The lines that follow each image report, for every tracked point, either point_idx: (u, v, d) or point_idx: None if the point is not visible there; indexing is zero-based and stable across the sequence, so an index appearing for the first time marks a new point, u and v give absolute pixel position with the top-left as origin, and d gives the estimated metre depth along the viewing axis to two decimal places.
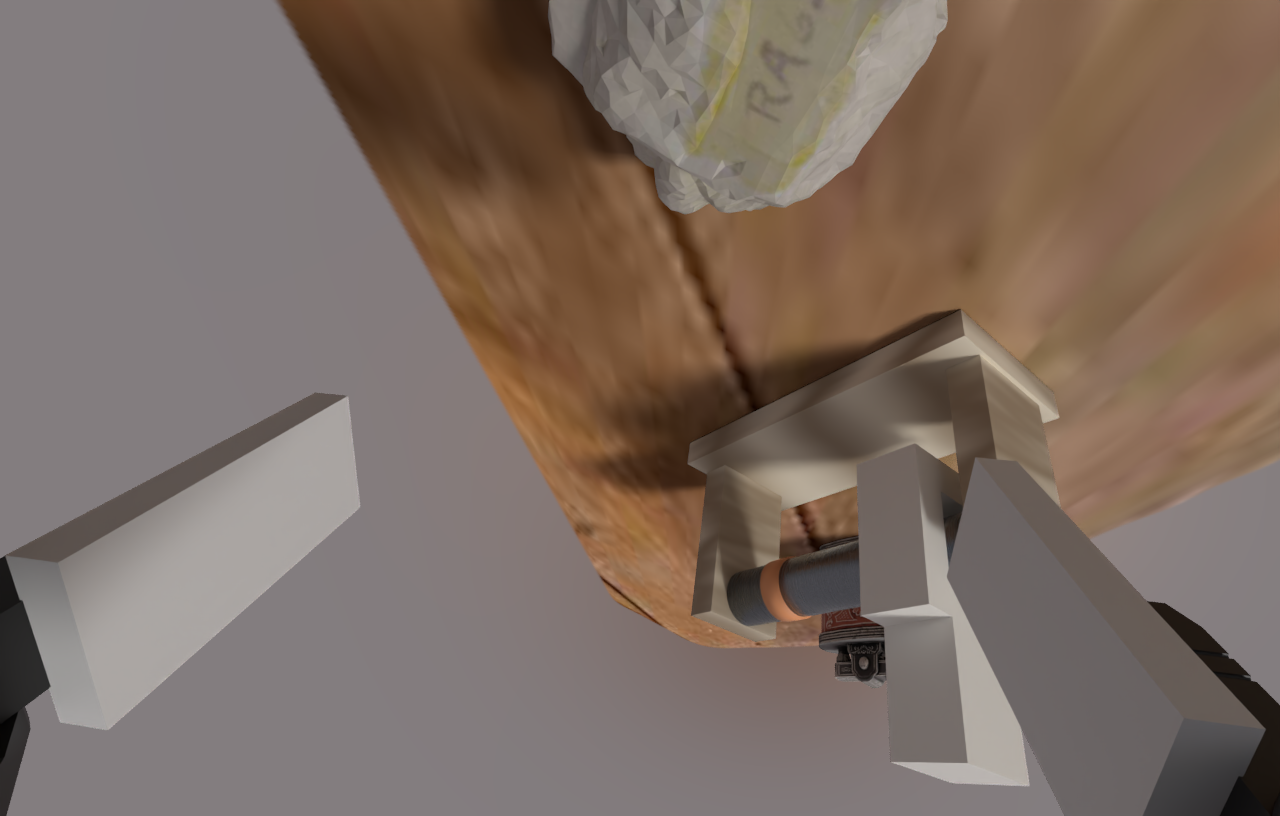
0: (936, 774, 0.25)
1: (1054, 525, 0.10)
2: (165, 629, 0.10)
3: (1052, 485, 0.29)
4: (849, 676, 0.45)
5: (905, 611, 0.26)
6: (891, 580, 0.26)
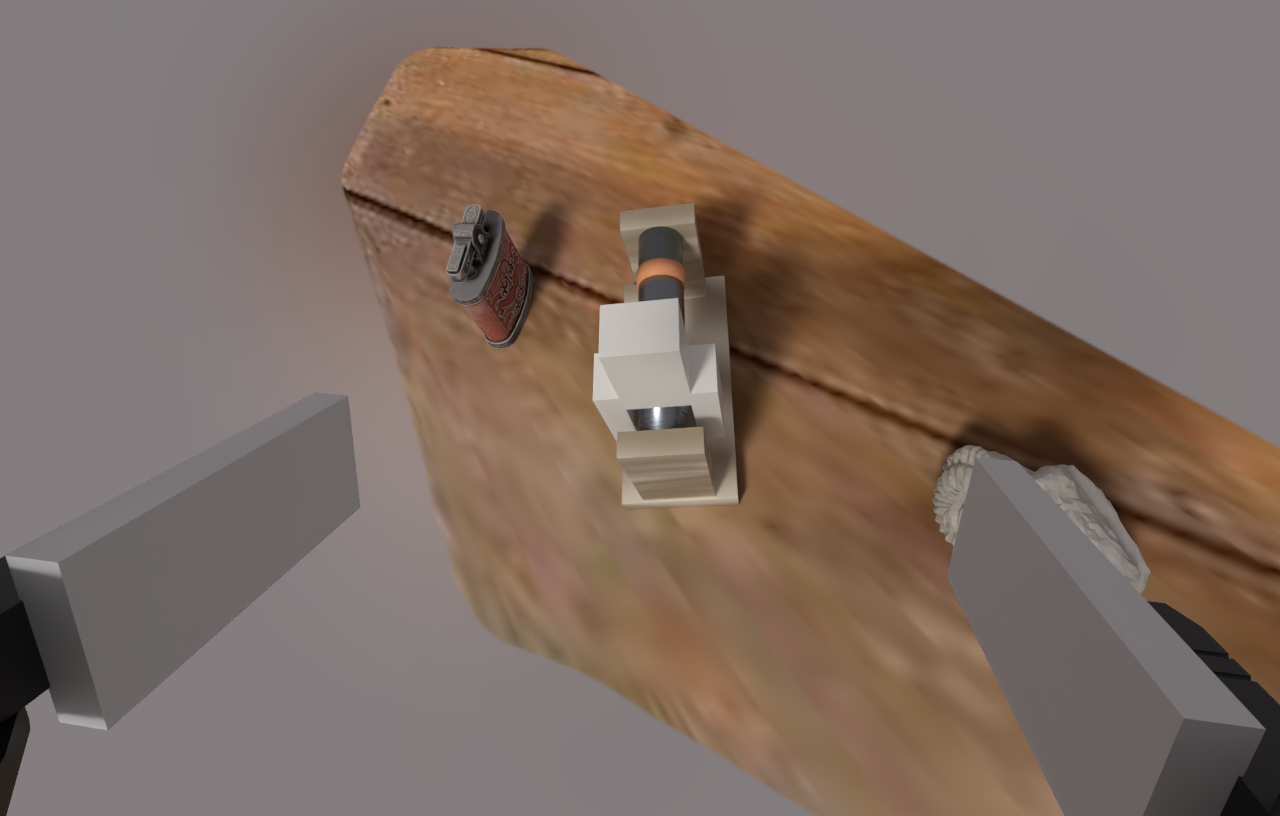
0: (634, 309, 0.33)
1: (1054, 525, 0.10)
2: (165, 629, 0.10)
3: (637, 481, 0.42)
4: (477, 218, 0.48)
5: (710, 372, 0.37)
6: (717, 376, 0.38)
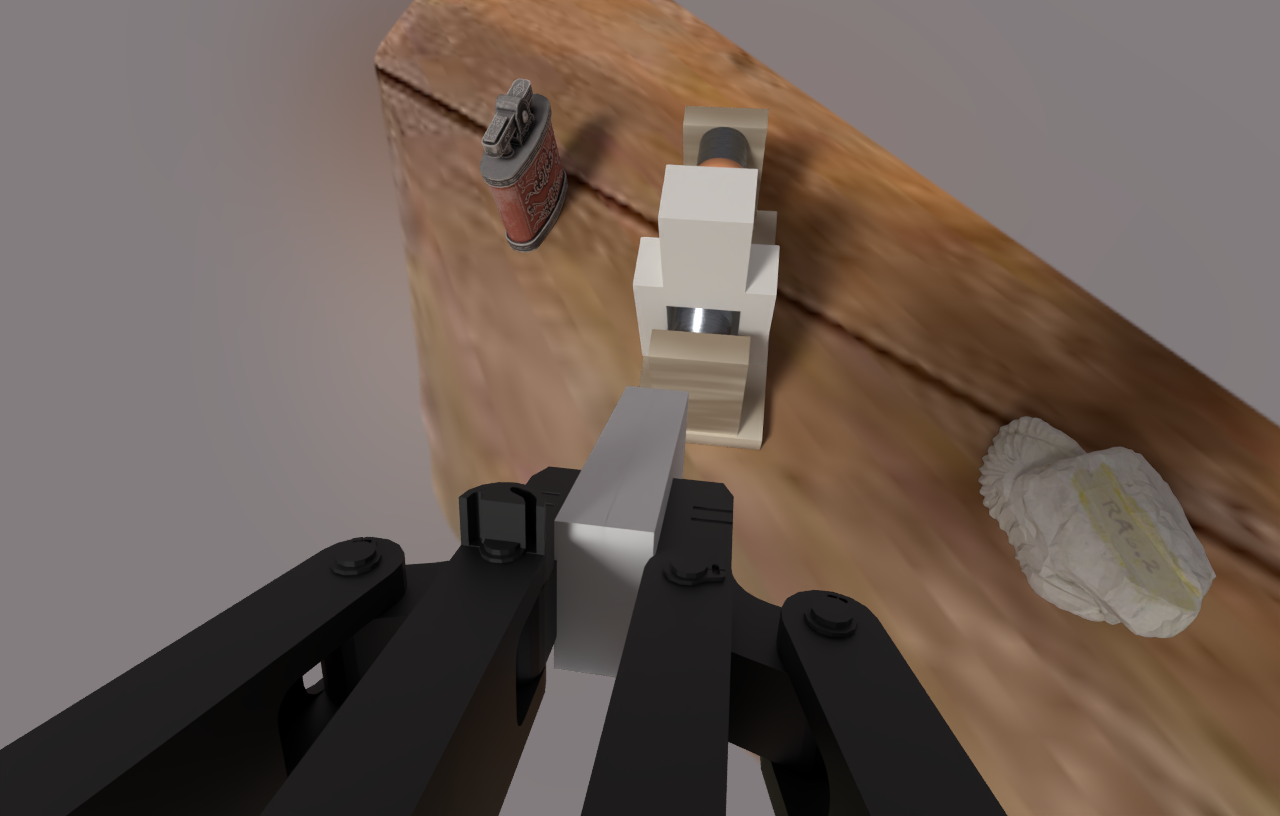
0: (706, 174, 0.29)
1: (661, 429, 0.13)
2: None
3: None
4: (524, 93, 0.44)
5: (771, 275, 0.33)
6: None
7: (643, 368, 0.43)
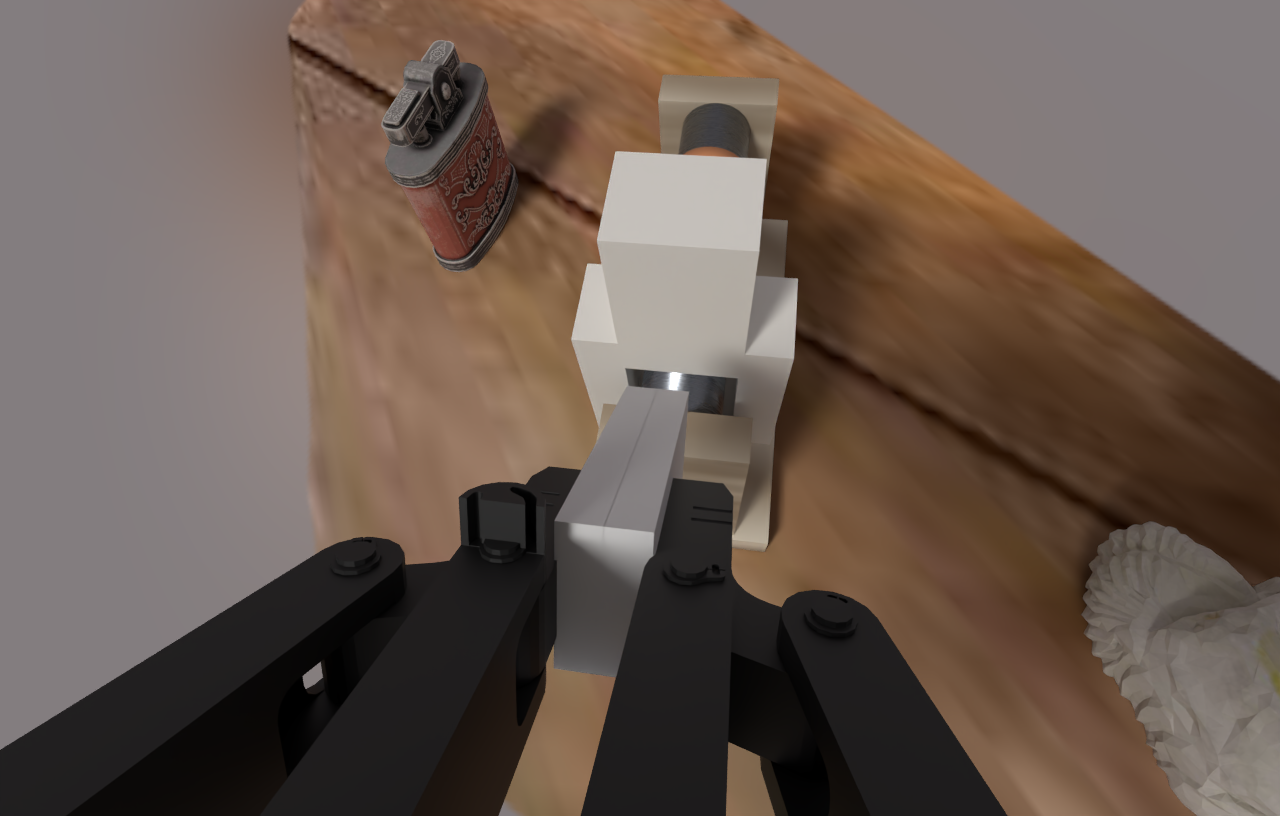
0: (680, 167, 0.17)
1: (662, 429, 0.13)
2: None
3: None
4: (445, 59, 0.32)
5: (785, 325, 0.21)
6: None
7: None
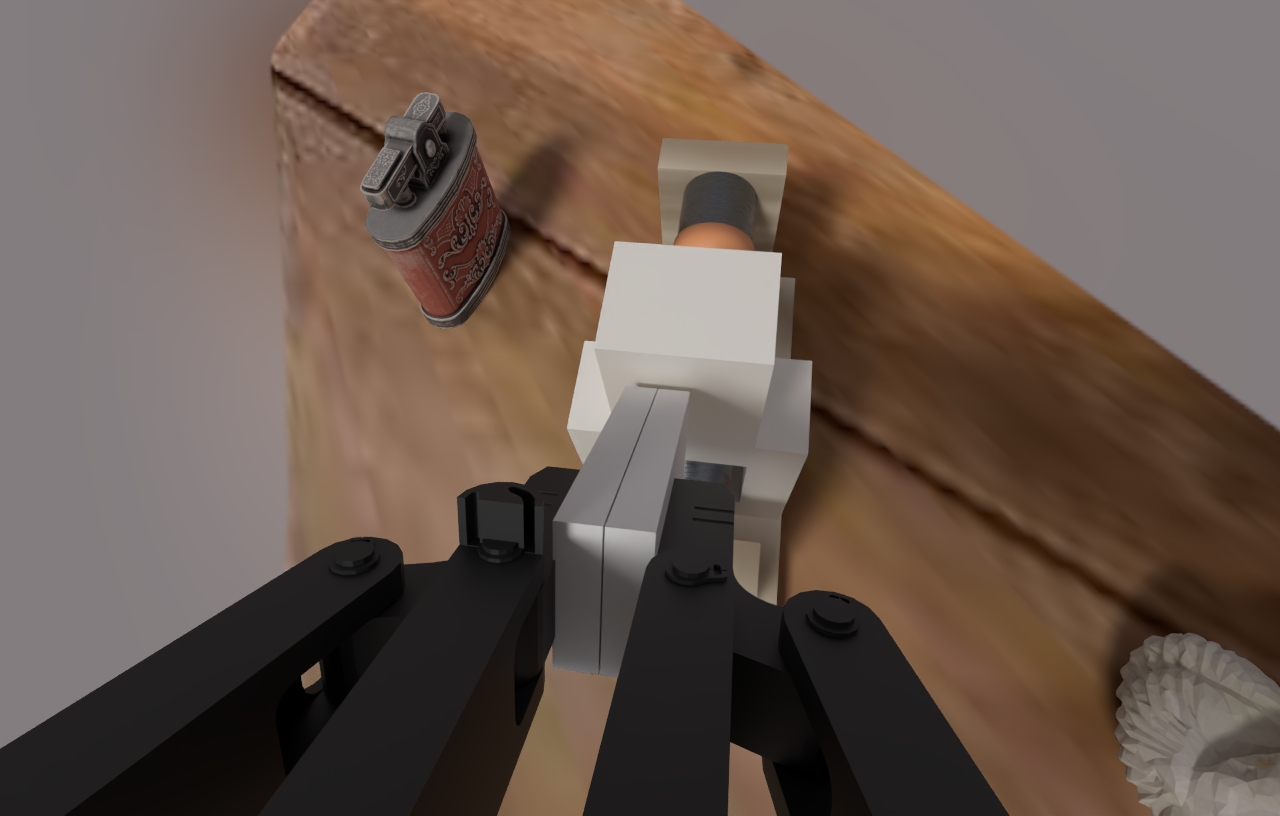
0: (686, 261, 0.16)
1: (662, 429, 0.13)
2: None
3: None
4: (429, 114, 0.30)
5: (798, 414, 0.19)
6: None
7: None
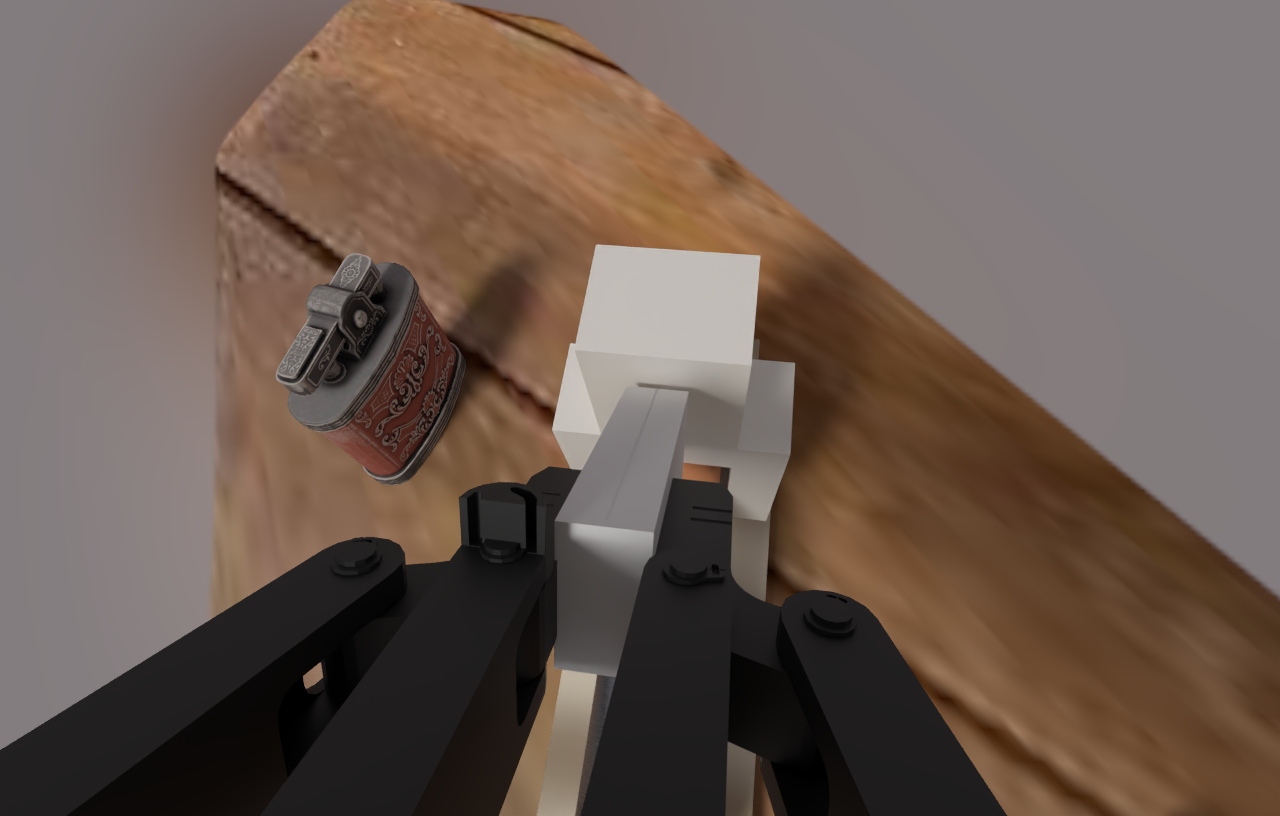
0: (666, 264, 0.16)
1: (661, 429, 0.13)
2: None
3: None
4: (359, 281, 0.26)
5: (781, 416, 0.20)
6: None
7: (553, 737, 0.26)
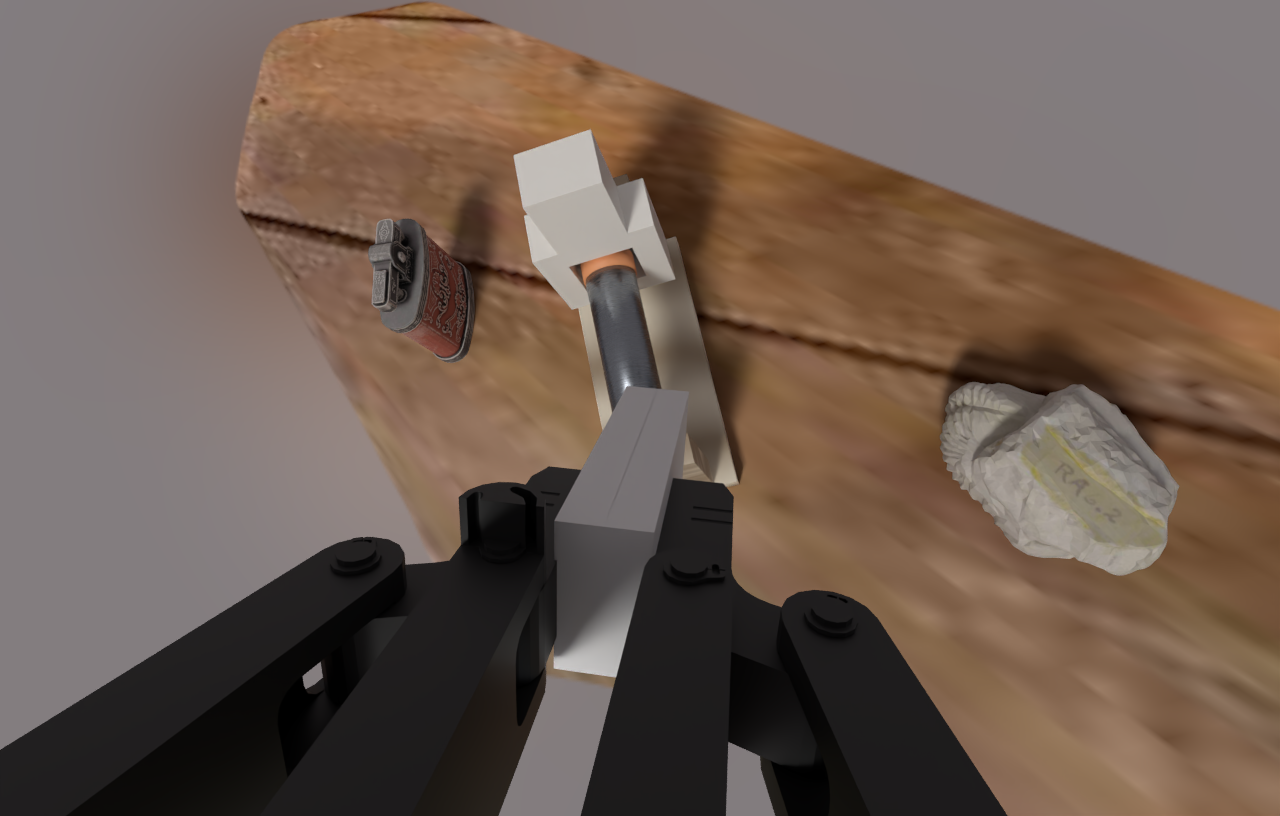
0: (549, 151, 0.32)
1: (661, 429, 0.13)
2: None
3: None
4: (391, 235, 0.43)
5: (643, 208, 0.36)
6: (652, 212, 0.37)
7: None
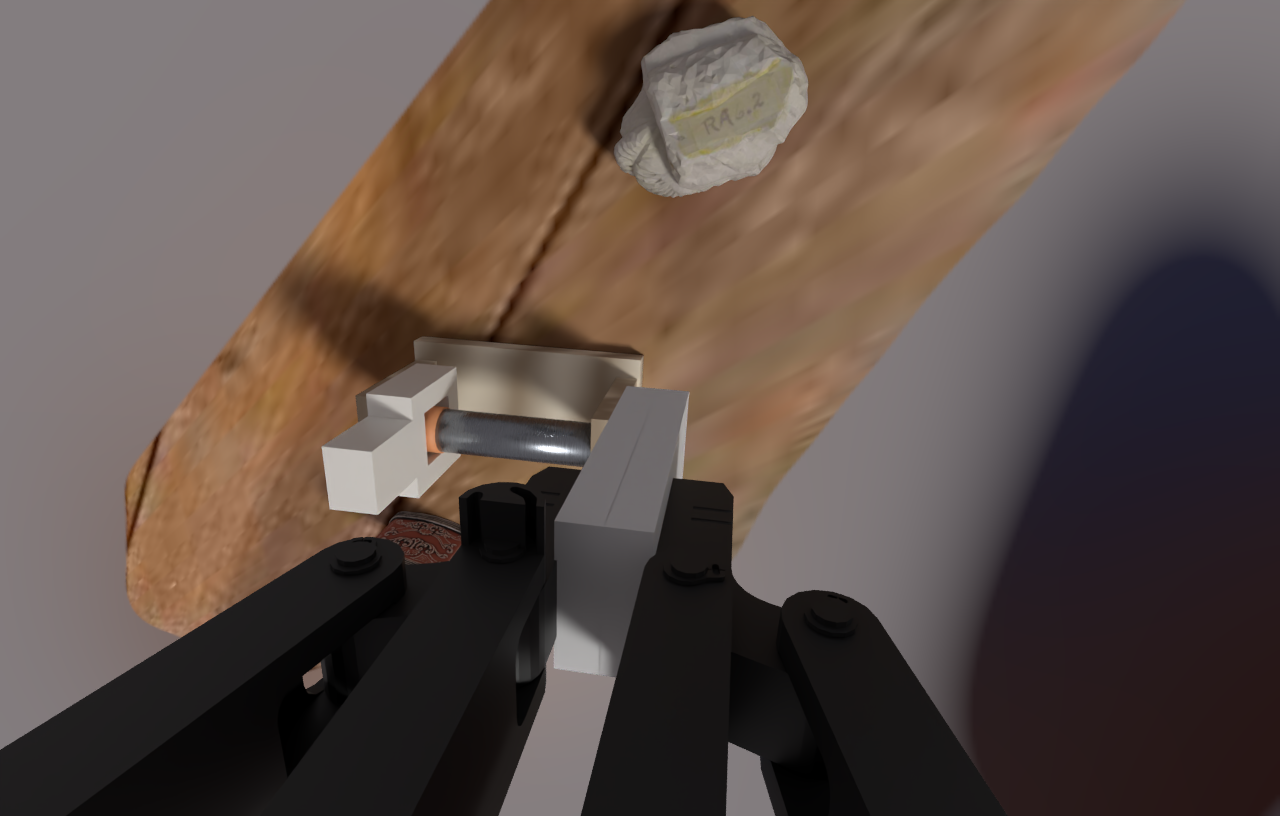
0: (333, 482, 0.38)
1: (661, 429, 0.13)
2: None
3: None
4: None
5: (393, 400, 0.42)
6: (397, 389, 0.43)
7: None
